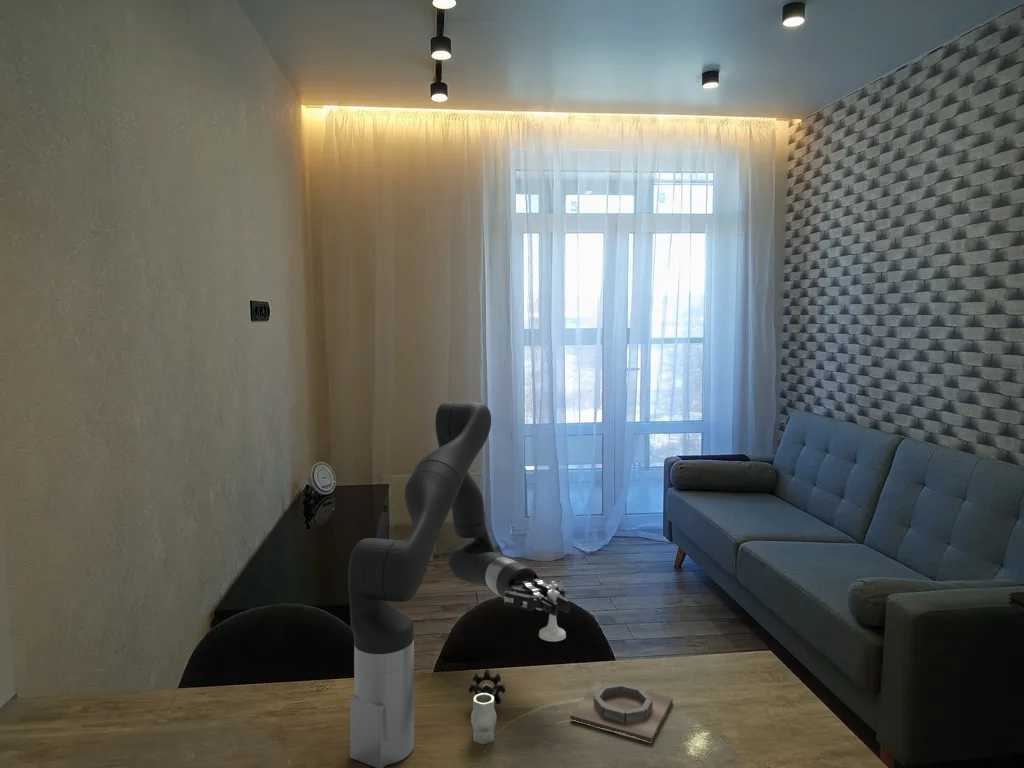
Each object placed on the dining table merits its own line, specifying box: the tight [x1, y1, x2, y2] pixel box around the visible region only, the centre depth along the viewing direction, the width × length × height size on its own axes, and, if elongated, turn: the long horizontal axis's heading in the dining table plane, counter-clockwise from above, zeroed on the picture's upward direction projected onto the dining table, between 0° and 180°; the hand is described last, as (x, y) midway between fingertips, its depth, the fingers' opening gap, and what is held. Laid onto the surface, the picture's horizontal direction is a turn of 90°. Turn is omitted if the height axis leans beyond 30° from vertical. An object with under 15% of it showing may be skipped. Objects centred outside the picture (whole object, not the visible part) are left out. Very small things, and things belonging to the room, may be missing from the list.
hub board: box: [569, 679, 674, 743], centre depth 111 cm, size 14×14×2 cm
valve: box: [467, 669, 507, 745], centre depth 108 cm, size 7×7×12 cm
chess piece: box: [538, 580, 567, 642], centre depth 116 cm, size 5×5×10 cm
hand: (562, 608), depth 114 cm, fingers closed on chess piece
